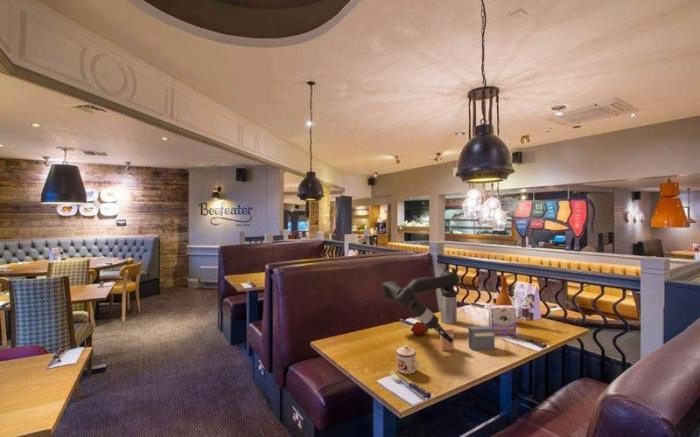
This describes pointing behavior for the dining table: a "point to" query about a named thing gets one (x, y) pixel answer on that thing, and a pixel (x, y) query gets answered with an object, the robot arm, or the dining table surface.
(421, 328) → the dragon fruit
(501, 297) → the brown tapered piece
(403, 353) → the teacup with lid
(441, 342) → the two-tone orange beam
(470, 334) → the gray block
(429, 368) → the dining table surface
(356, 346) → the dining table surface
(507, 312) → the candy box
